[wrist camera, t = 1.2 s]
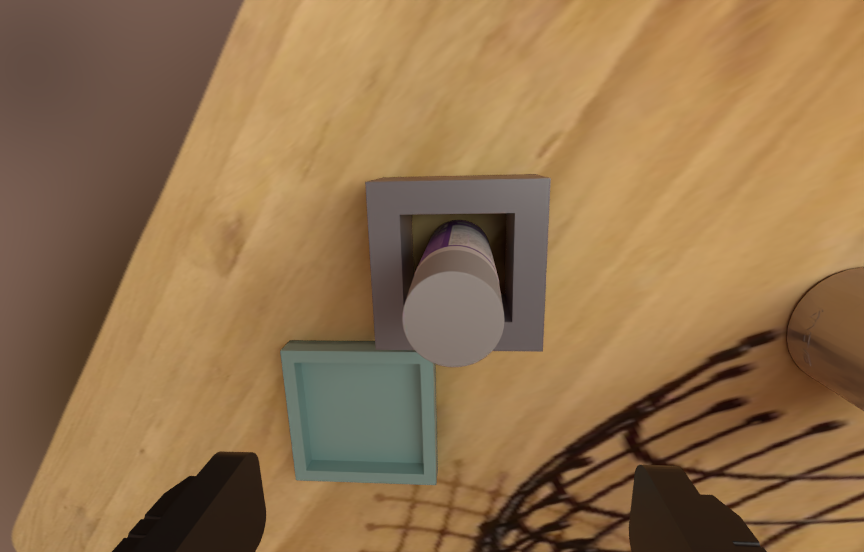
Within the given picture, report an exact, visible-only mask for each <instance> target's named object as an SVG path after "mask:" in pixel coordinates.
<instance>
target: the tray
mask: <svg viewBox="0 0 864 552" xmlns="http://www.w3.org/2000/svg"><path fill="white" fill-rule="evenodd" d="M280 353H281V361H282V369H283V377H284V386H285V394H286V402H287V410H288V418H289V427H290V435H291V443H292V451H293V459H294V468H295V476H296V480H303V481H332V482H360V483H389V484H417V485H436V483H437V472H438V456H437V414H436V372H435V363H432V362H430V361H428V360H426V359H425V358H423V357H422V356H421V355H419V354H418V353H417V352H416V351H415V350H376V347H375V341H295V340H290V341H289V342H288V343H287V344H286V345H285V346H284V347H283V348H282V349H281V350H280Z"/></svg>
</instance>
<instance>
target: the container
mask: <svg viewBox="0 0 864 552" xmlns="http://www.w3.org/2000/svg"><path fill="white" fill-rule="evenodd" d="M402 324H403V329H404V333H405V335H406V338H407V340H408V342H409V343H410V345H411V346H412V347H413V349H414V350H415V351H416V352H417V353H418V354H419V355H421V356H422V357H423V358H425V359H426V360H428V361H430V362H432V363H435V364H437V365H441V366H446V367H462V366H467V365H471V364H474V363H476V362H478V361H480V360H482V359H483V358H485V357H486V356H487V355H488V354H489V353H491V352H492V350H493V349H494V348H495V347H496V345H497V344H498V342H499V340H500V338H501V336H502V333H503V329H504V311H503V304H502V298H501V292H500V286H499V279H498V275H497V271H496V267H495V263H494V260H493V256H492V252H491V248H490V244H489V241H488V239H487V236H486V235H485V233H484V232H483V230H482V229H481V228H480V227H478V226H477V225H476V224H474V223H472V222H469V221H466V220H452V221H449V222H446V223H444V224H443V225H441V226H440V227H439V228H437V230H436V231H435V232H434V233H433V235H432V236H431V239H430V241H429V243H428V245H427V247H426V249H425V252H424V254H423V256H422V258H421V260H420V263H419V265H418V267H417V269H416V271H415V274H414V278H413V280H412V283H411V286H410V289H409V292H408V295H407V298H406V301H405V304H404V307H403V313H402Z"/></svg>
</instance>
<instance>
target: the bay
mask: <svg viewBox="0 0 864 552" xmlns="http://www.w3.org/2000/svg"><path fill="white" fill-rule="evenodd" d="M365 184H366V200H367V216H368V233H369V249H370V265H371V281H372V298H373V314H374V330H375V347H376V350H414V349H413V347H412V346H411V345H410V343H409V342H408V340H407V338H406V335H405V333H404V329H403V324H402V313H403V307H404V304H405V301H406V298H407V295H408V292H409V289H410V286H411V283H412V280H413V278H414V263H413V235H412V214H480V213H506V254H505V294H501V298H502V304H503V311H504V329H503V333H502V336H501V338H500V340H499V342H498V344H497V345H496V347H495V348H494V349H493V350H492V351H543V335H544V313H545V290H546V268H547V245H548V223H549V201H550V178H548V177H544V176H540V175H536V174H525V175H478V176H430V177H383V178H379V179H375V180H371V181H367V182H365Z"/></svg>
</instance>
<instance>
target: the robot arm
mask: <svg viewBox="0 0 864 552" xmlns="http://www.w3.org/2000/svg"><path fill="white" fill-rule="evenodd" d="M787 343H788V349H789V352H790V354H791V356H792V359H793V361H794V362H795V363H796V364H797V366H798V367H799V368H800V369H801V370H802V371H804V372H805V373H806V374H808V375H809V376H810V377H812V378H814V379H815V380H817V381H818V382H820V383H821V384H823V385H825V386H826V387H828V388H829V389H831V390H832V391H834V392H835V393H837V394H839V395H840V396H842V397H843V398H845V399H846V400H847V401H849V402H851V403H852V404H854V405H855V406H857V407H858V408H860V409H861V410H863V411H864V267H861V268H856V269H850V270H846V271H843V272H840V273H838V274H835V275H832V276H830V277H829V278H827V279H825V280H823V281H822V282H820V283H819V284H817V285H816V286H815V287H814V288H812V289H811V290H810V291H809V292H808V293H807V294H806V295H805V296H804V297H803V298H802V300H801V301H800V302H799V303H798V305H797V307H796V308H795V310H794V312H793V314H792V316H791V319H790V322H789V325H788V331H787ZM265 522H266V507H265V500H264V493H263V487H262V480H261V473H260V466H259V460H258V457H257V455H256V454H255V453H253V452H218V453H216V454H215V455H214V456H213V457H212V458H211V459H210V460H209V462H208V463H207V464H206V465H205V466H204V467H203V469H202V470H201V471H200V472H199V473H198V474H197V476H189V477H187V478H186V479H184V480H183V481H182V482H180V483H179V484H177V485H176V486H174V487H173V488H171V489H170V490H169V491H167V492H166V493H164V494H163V495H162V496H161V498H160V499H159V500H158V501H157V502H156V503H155V504H154V505H153V507H152V508H151V509H150V510H149V511H148V512H147V513H146V514H145V518H144V519H141V520H140V521H139V522H138V523H137V524H136V525H135V527H134V528H133V529H132V530H131V531H130V532H129V535H128V537H127V538H124V539H123V540H122V541H121V542H120V543H119V544H118V545H117V547H116V548H115V549H114V550H113V551H112V552H255V551H256V549H257V547H258V545H259V543H260V541H261V538H262V535H263V532H264V528H265ZM629 539H630V546H631V551H632V552H766V550H765V549H764V548H763V547H760V544H759V541H758V540H757V538H756V537H755V536H754V534H753V533H752V532H751V531H750V529H749V528H748V527H747V525H746V524H745V523H744V521H743V520H742V519H741V517H740V516H739V515H737V514H736V513H735V512H733V511H732V510H731V509H730V508H728V507H727V506H726V505H725V504H723V503H722V502H721V501H719V500H718V499H717V498H716V497H714V496H713V495H700V494H699V492H698V491H697V489H696V488H695V487H694V485H693V484H692V482H691V481H690V479H689V478H688V476H687V475H686V473H685V472H684V471H683V470H682V469H681V468H680V467H679V466H661V465H638V466H637V468H636V471H635V476H634V485H633V494H632V503H631V512H630V521H629Z"/></svg>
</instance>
